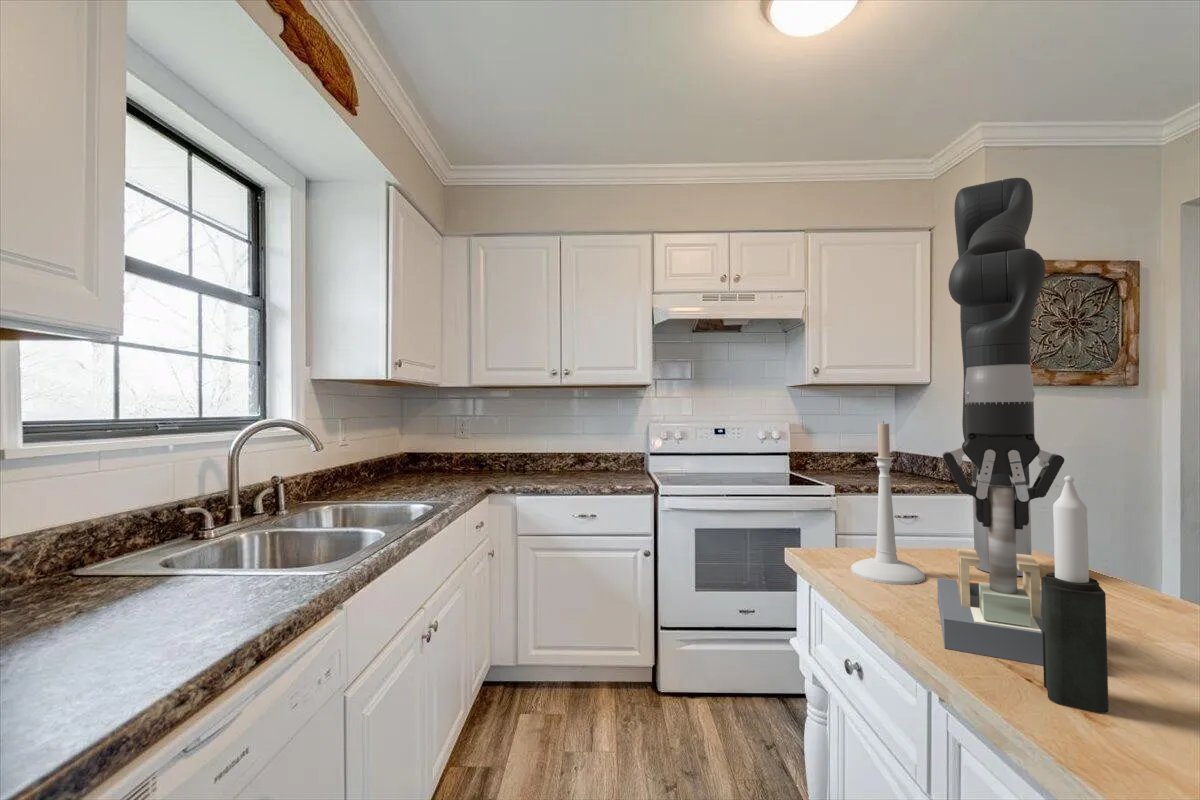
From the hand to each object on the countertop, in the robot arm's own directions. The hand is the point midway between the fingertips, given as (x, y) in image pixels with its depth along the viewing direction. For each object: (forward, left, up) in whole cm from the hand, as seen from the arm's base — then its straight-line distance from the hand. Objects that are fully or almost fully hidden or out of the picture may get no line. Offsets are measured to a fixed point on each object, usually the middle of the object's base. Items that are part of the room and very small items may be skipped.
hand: (1001, 526), depth 74 cm
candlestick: (-30, -15, -17) cm, 37 cm away
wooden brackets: (-6, 0, -13) cm, 14 cm away
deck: (-7, 0, -17) cm, 18 cm away
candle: (+11, +5, -17) cm, 21 cm away
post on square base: (0, 0, -12) cm, 12 cm away
